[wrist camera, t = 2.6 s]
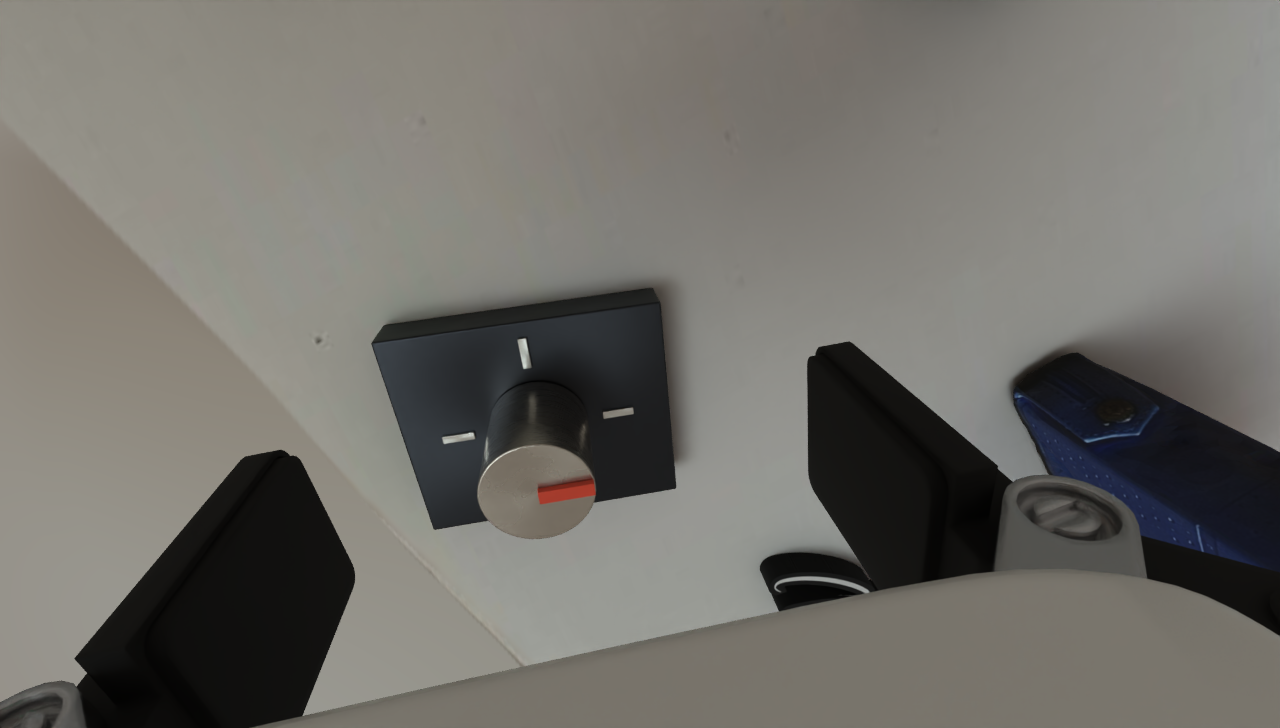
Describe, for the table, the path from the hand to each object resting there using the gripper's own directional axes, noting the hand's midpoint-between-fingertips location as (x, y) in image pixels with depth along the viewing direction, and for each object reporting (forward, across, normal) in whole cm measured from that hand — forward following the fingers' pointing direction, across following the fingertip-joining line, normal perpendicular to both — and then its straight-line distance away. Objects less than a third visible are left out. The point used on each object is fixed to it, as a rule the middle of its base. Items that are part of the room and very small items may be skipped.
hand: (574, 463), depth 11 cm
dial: (+14, +3, +7) cm, 16 cm away
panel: (+16, +2, +7) cm, 18 cm away
